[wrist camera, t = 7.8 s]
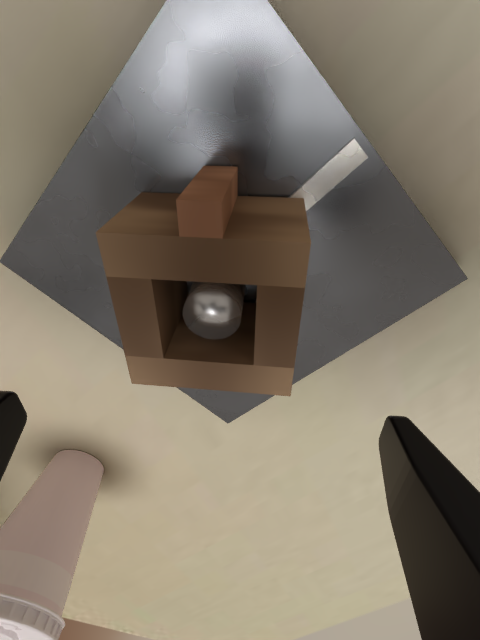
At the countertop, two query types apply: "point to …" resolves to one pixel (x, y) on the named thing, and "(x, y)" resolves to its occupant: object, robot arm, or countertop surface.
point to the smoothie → (45, 546)
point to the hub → (253, 180)
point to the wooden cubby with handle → (208, 266)
